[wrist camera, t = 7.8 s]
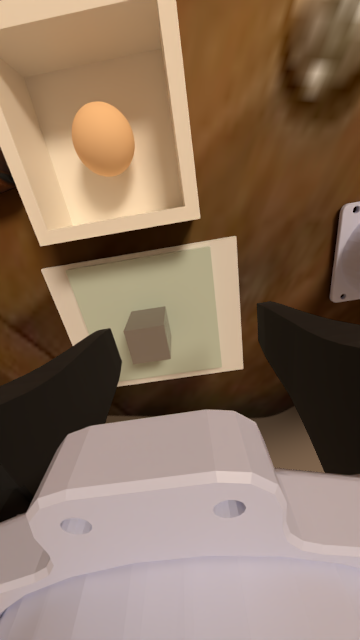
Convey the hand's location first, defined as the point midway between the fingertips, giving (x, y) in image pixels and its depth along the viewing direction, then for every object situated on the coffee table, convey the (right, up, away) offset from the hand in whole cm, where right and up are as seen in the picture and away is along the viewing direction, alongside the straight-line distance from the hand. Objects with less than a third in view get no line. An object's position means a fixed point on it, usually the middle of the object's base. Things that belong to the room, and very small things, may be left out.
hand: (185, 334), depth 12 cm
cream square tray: (-5, +12, +5) cm, 14 cm away
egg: (-5, +11, +3) cm, 13 cm away
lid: (-3, +1, +10) cm, 10 cm away
